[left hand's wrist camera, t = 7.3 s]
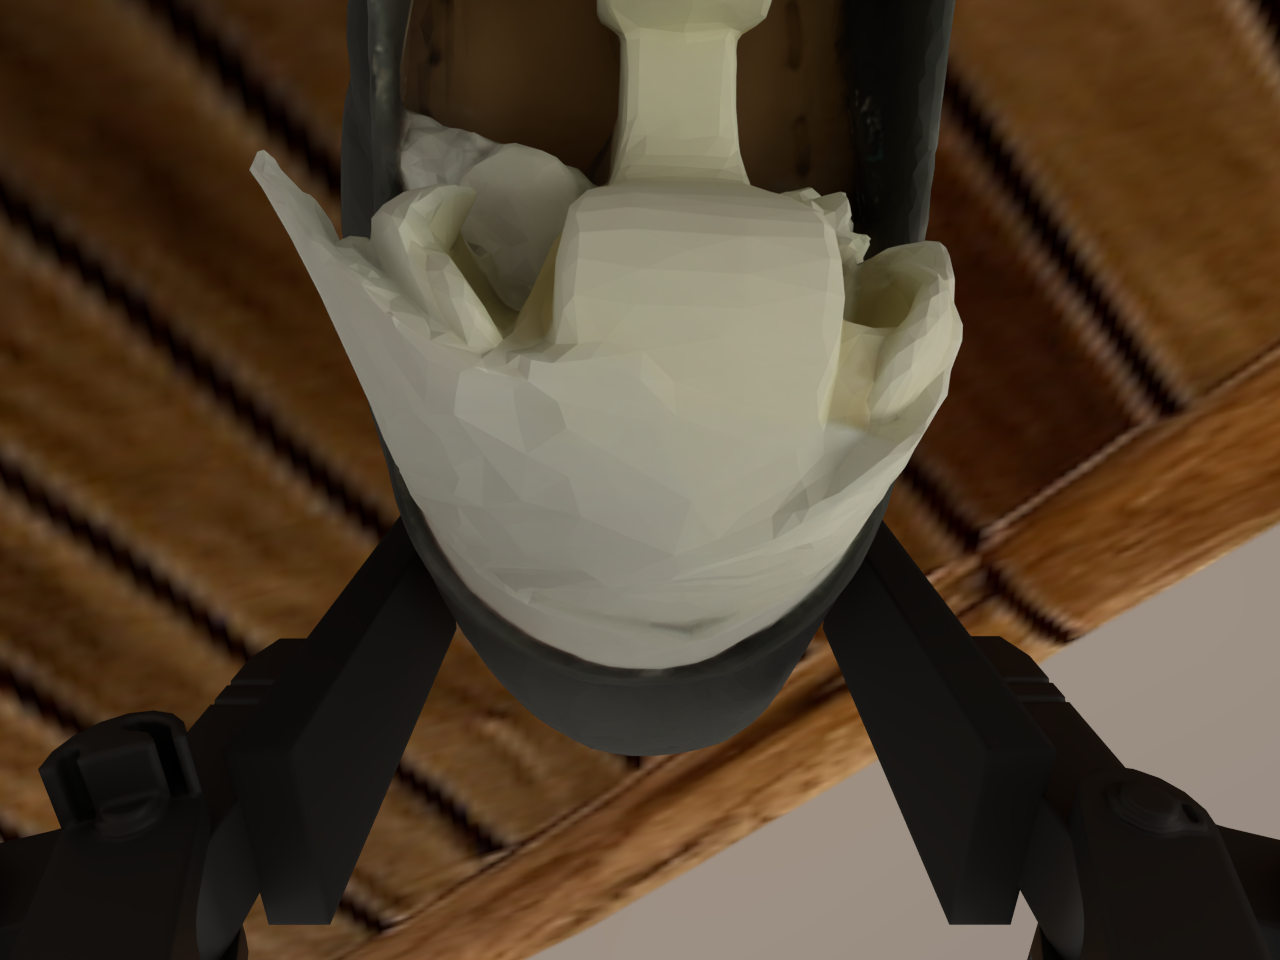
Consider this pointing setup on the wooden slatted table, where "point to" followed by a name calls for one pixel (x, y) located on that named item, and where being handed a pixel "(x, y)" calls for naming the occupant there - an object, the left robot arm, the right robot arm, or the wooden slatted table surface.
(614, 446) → the ballet flat
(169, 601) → the wooden slatted table surface
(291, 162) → the wooden slatted table surface
